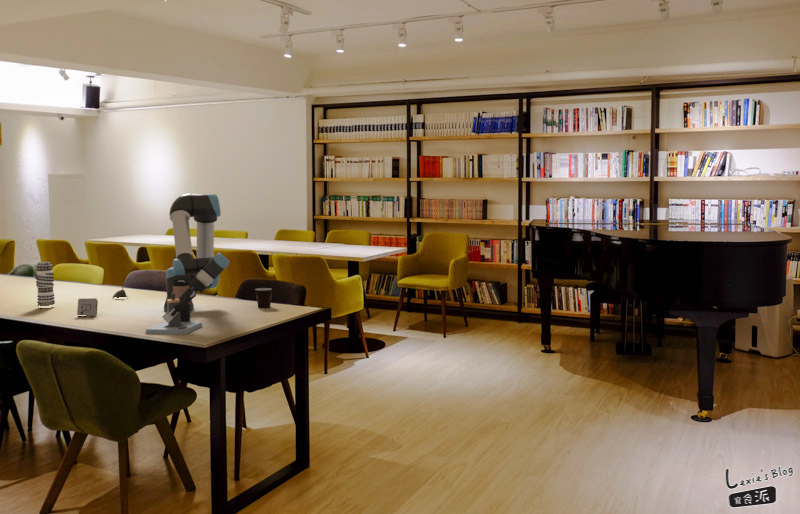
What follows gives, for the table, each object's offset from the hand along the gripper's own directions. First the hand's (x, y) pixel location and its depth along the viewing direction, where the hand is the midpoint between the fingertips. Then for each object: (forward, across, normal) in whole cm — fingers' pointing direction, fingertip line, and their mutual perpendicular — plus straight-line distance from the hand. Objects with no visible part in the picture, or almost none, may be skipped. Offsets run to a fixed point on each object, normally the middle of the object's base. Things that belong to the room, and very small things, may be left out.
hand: (165, 319), depth 319 cm
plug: (-1, 0, -5) cm, 5 cm away
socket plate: (+1, 0, -6) cm, 6 cm away
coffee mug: (-37, +42, -43) cm, 71 cm away
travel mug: (-4, +21, -11) cm, 24 cm away
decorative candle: (+40, +98, +32) cm, 110 cm away
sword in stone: (+12, +114, +5) cm, 115 cm away
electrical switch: (+26, +58, +18) cm, 66 cm away
